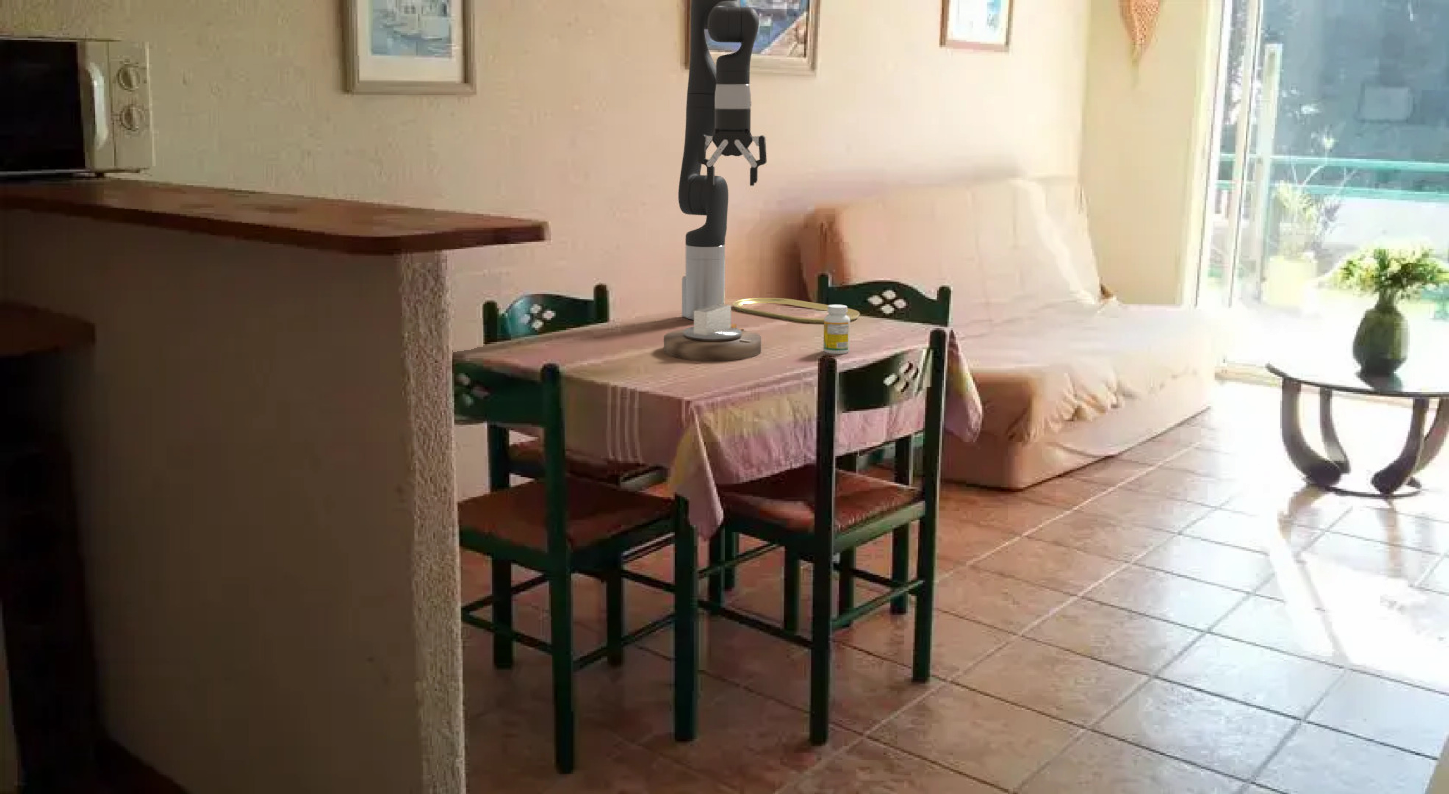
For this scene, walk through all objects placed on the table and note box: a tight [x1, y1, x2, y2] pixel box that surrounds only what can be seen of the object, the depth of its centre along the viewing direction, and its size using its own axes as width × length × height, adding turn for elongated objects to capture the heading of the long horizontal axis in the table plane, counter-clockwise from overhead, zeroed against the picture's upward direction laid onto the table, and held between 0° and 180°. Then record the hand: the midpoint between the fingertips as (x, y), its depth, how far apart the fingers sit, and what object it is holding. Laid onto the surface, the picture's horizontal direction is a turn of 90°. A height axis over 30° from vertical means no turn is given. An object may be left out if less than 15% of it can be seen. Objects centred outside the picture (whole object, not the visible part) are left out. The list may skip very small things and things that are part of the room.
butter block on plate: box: [683, 303, 742, 341], centre depth 266 cm, size 15×12×6 cm
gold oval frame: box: [732, 297, 860, 324], centre depth 313 cm, size 19×35×2 cm, turn 45°
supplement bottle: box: [822, 304, 851, 355], centre depth 265 cm, size 5×5×10 cm
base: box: [663, 328, 762, 362], centre depth 266 cm, size 20×20×3 cm
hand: (732, 185), depth 273 cm, fingers open, 8 cm apart
